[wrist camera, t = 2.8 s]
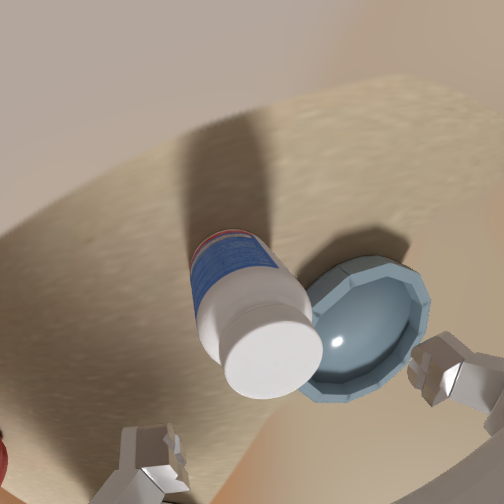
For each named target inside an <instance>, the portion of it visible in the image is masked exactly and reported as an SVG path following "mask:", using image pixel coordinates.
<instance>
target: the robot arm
mask: <svg viewBox="0 0 504 504" xmlns="http://www.w3.org/2000/svg"><path fill="white" fill-rule="evenodd" d="M410 356H411V357H412V360H411V361H410V363H409V364H408V369H407V374H408V379H409V381H410V382H411V384H412V385H413V386H414V388H417V389H420V390H422V397H423V398H424V399H425V400H426V401H427V403H428V404H429V405H430V406H431V407H433V406H435V405H437V404H438V403H440V402H442V401H444V400H445V399H447V398H449V399H452V400H454V401H457V402H459V403H461V404H464V405H466V406H469V407H471V408H474V409H476V410H479V411H481V412H483V413H486V414H488V415H489V416H488V418H487V420H486V421H485V423H484V428H485V430H486V431H487V432H488V433H489V434H490V435H491V436H492V437H491V438H490V439H489V440H487V441H486V442H485V443H484V444H482V445H481V446H480V447H479V448H477V449H476V450H475V451H474V452H472V453H471V454H470V455H468V456H467V457H466V458H464V459H463V460H461V461H460V462H459V463H457V464H456V465H455V466H453V467H452V468H450V469H449V470H447V471H446V472H444V473H443V474H441V475H440V476H438V477H437V478H435V479H433V480H432V481H430V482H429V483H427V484H425V485H424V486H422V487H420V488H419V489H417V490H415V491H413V492H412V493H410V494H408V495H406V496H405V497H403V498H401V499H399V500H397V501H395V502H393V503H391V504H504V358H501V357H496V356H492V355H488V354H483V353H479V352H477V353H473V352H472V351H471V350H470V349H469V348H468V347H466V346H465V345H464V344H463V343H462V342H461V341H459V340H458V339H457V338H456V337H455V336H453V335H452V334H451V333H450V332H447V331H444V332H442V333H440V334H438V335H436V336H435V337H432V338H430V339H428V340H426V341H424V342H422V343H420V344H418V345H416V346H414V347H413V348H412V350H411V354H410ZM186 462H187V460H186V453H185V449H184V446H183V443H182V441H181V439H180V437H179V436H177V435H175V432H174V427H173V426H172V424H171V423H170V422H169V423H161V424H152V425H142V426H133V427H124V428H123V430H122V433H121V445H120V458H119V470H114V471H113V473H112V474H111V475H110V477H109V478H108V479H107V480H106V482H105V483H104V484H103V486H102V487H101V488H100V489H99V491H98V492H97V493H96V494H95V496H94V497H93V498H92V499H91V501H90V502H89V503H88V504H171V503H163V502H162V500H163V498H164V496H165V494H166V493H174V492H182V491H188V490H190V485H189V477H188V473H187V471H186V470H185V468H184V465H185V464H186Z"/></svg>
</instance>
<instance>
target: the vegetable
mask: <svg viewBox="0 0 504 504" xmlns="http://www.w3.org/2000/svg"><path fill="white" fill-rule="evenodd" d="M7 465H8V455H7V450H6V447H5V446H4V444H3V442H2V439H1V436H0V486H1V484H2V482H3V480H4V477H5V474H6V471H7Z"/></svg>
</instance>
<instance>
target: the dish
mask: <svg viewBox="0 0 504 504" xmlns="http://www.w3.org/2000/svg"><path fill="white" fill-rule="evenodd" d="M305 291H306V293H307V295H308V297H309V300H310V303H311V307H312V325H313V326H314V328H315V329H316V331H317V332H318V334H319V336H320V338H321V341H322V346H323V354H322V359H321V362H320V364H319V367H318V368H317V370H316V371H315V373H314V374H313V376H312V377H311V378H310V379H309V380H308V381H307V382H306V383H304V384H303V385H302V386H301V387H299V388H298V390H299V391H300V392H302V393H303V394H304V395H306V396H307V397H308V398H310V399H311V400H312V401H314V402H316V403H346V402H350V401H352V400H354V399H357V398H359V397H362V396H364V395H366V394H369V393H371V392H373V391H376V390H378V389H379V388H381V387H382V386H383V385H384V384H385V383H387V382H388V381H389V380H390V379H391V378H392V377H394V376H395V375H396V374H397V373H398V372H399V371H400V370H401V369H402V368H404V367H405V366H406V365H407V363H408V362H409V360H410V359H411V356H410V354H411V350H412V348H413V347H414V346H416V345H418V344H420V342H421V340H422V338H423V337H424V335H425V333H426V329H427V323H428V316H429V311H430V304H431V299H430V297H429V294H428V292H427V290H426V287H425V285H424V282H423V280H422V278H421V276H420V274H419V273H418V272H416V271H414V270H413V269H411V268H409V267H408V266H406V265H403V264H400V263H398V262H396V261H394V260H392V259H390V258H387V257H383V256H380V255H377V256H376V255H370V256H361V257H356V258H353V259H350V260H347V261H344V262H342V263H340V264H338V265H336V266H334V267H333V268H331V269H330V270H328V271H326V272H325V273H324V274H322V275H321V276H320V277H319V278H317V279H316V280H315V281H314V282H313V283H312V284H311V285H310V286H309V287H308V288H307V289H306V290H305Z"/></svg>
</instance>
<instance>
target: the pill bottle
mask: <svg viewBox="0 0 504 504" xmlns="http://www.w3.org/2000/svg"><path fill="white" fill-rule="evenodd" d="M190 281H191V288H192V295H193V302H194V310H195V318H196V325H197V330H198V334H199V338H200V341H201V343H202V345H203V347H204V349H205V350H206V352H207V353H208V354H209V355H210V357H211V358H212V359H214V360H215V361H216V362H217V363H219V364H220V365H222V368H223V371H224V374H225V377H226V380H227V382H228V383H229V385H230V386H231V387H232V388H233V389H234V390H235V391H236V392H238V393H240V394H241V395H244V396H246V397H249V398H255V399H270V398H276V397H280V396H283V395H286V394H288V393H290V392H292V391H294V390H296V389H298V388H299V387H301V386H302V385H303V384H304V383H306V382H307V381H308V380H309V379H310V378H311V377H312V376H313V374H314V373H315V371H316V370H317V368H318V367H319V364H320V362H321V359H322V354H323V346H322V341H321V338H320V336H319V334H318V332H317V331H316V329H315V328H314V326H313V325H312V307H311V303H310V300H309V297H308V295H307V293H306V291H305V290H304V288H303V287H302V285H301V284H300V283H299V282H298V281H297V279H296V278H295V277H294V276H293V275H292V274H291V273H290V272H289V270H288V269H287V268H286V267H285V266H284V265H283V264H282V262H281V261H280V260H279V259H278V258H277V257H276V256H275V254H274V253H273V252H272V251H271V250H270V249H269V247H268V246H267V245H266V244H265V243H264V242H263V241H262V240H261V239H260V238H258V237H257V236H255V235H254V234H252V233H250V232H247V231H244V230H238V229H229V230H223V231H220V232H217V233H215V234H213V235H211V236H209V237H208V238H206V239H205V240H204V241H203V242H202V243H201V244H200V245H199V246H198V248H197V249H196V251H195V252H194V254H193V257H192V260H191V264H190Z"/></svg>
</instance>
